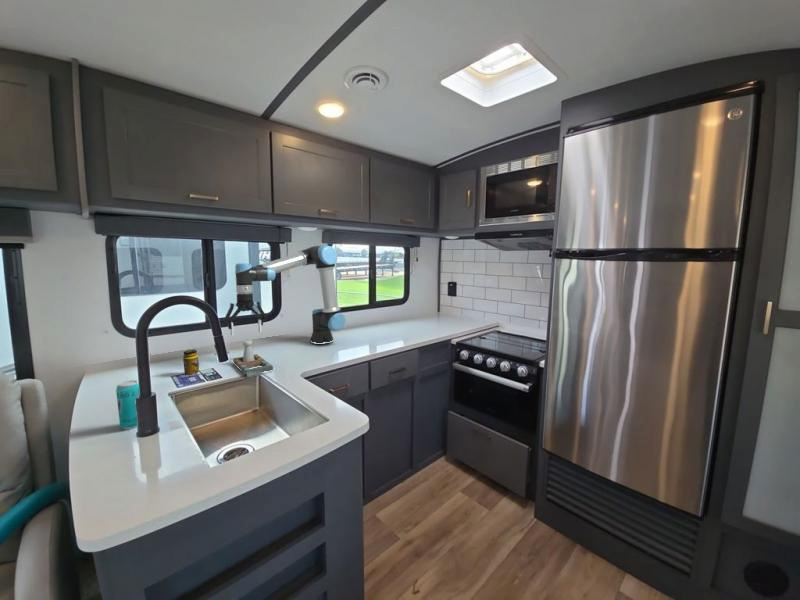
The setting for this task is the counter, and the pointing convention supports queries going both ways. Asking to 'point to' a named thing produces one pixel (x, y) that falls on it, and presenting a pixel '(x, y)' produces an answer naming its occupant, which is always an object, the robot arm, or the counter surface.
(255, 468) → the counter surface
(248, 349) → the salt shaker
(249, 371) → the grey rectangular tray
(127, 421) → the beverage can
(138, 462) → the counter surface
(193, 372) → the condiment
